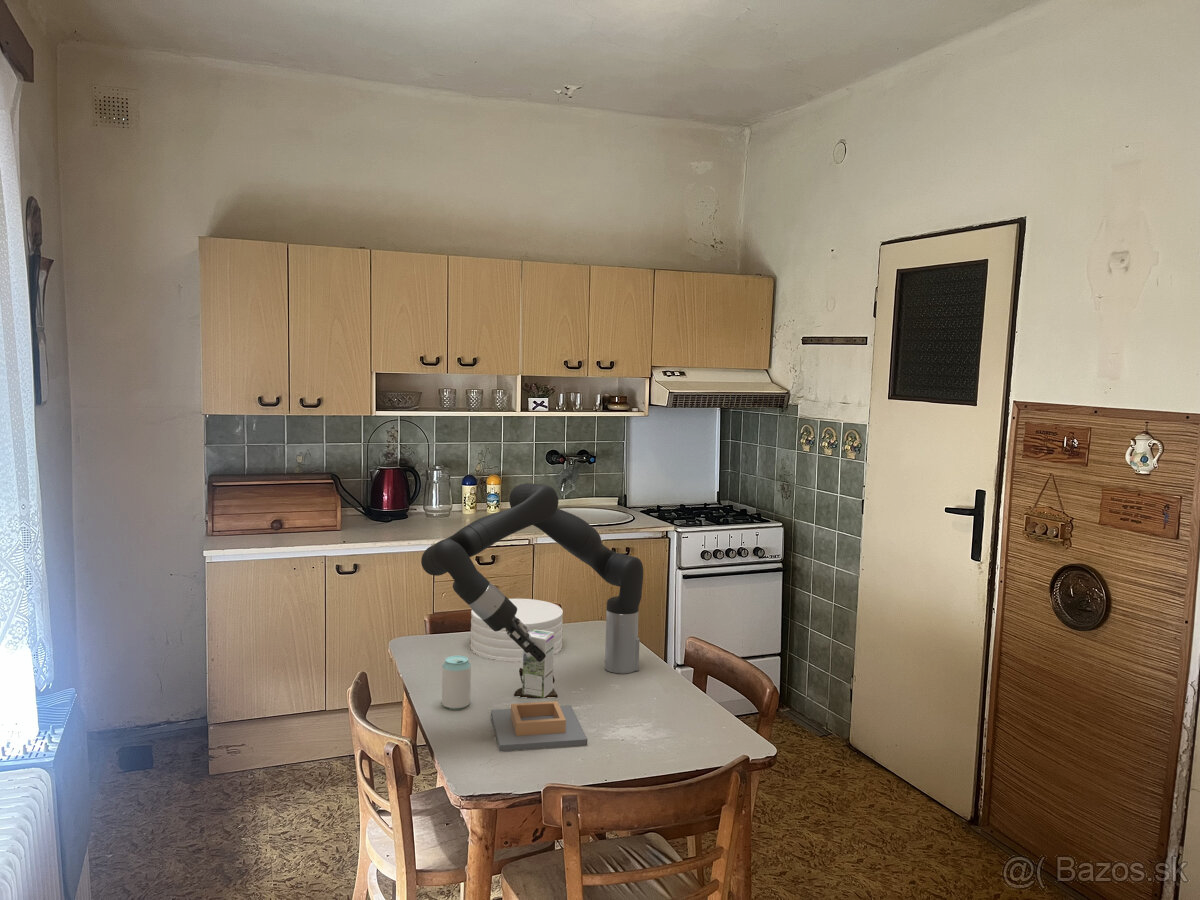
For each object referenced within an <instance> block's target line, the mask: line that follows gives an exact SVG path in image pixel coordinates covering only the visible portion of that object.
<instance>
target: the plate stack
mask: <svg viewBox="0 0 1200 900" xmlns="http://www.w3.org/2000/svg"><path fill="white" fill-rule="evenodd" d="M508 599H509V600H510V601H511V602H512V603H513V604H514V605H515V606H516V607H517V613H516V615H515V617H516V618H518V619H520V621H521V622H522V623H523V624H524V625H525V626H526V627H527V630H529V631H530V630H532V629H535V630H543V631H550V632H554V654H556V653H557V654H559V653H560V652H561V651H560V650H562V649H561V648H563V642H562V641H563V621H564V619H563V616H564V615H563V614H564V613H563V612H564V611H563V609H562V608H561V606H559V605H558V604H555V603H553V602H549V601H546V600H540V599H533V598H508ZM470 612H471V613H470V616H471V619H470V625H471V626H470V650H471V649H472V650H473V651H474V652H475V653H476V654H475V653H474V652H473V651H472V650H471V651H472V652H473V653H474V654H475V655H477V654H478V655H481V656H484V657H487V658H490V659H489V660H491V659H496V660H495V661H497V660H504V661H503V662H505V661H523V649H522V648H521V647H520V646H519V645H518V644H517V643H516V642H515V641H514V640H513V639H512V638H510V637H509V636H508V634H507V631H506V628H503V629H501V630H500V631H493V630H492V629H491V628H490V627H489V626H488V625H487V624H486V623H485V622H484V621H483V620H482V619H481V618H480V617H479V616H478V615H477V614H476V613H475V612H474V611H473V610H472V609H471V611H470ZM559 651H560V652H559ZM558 652H559V653H558ZM557 654H556V655H557ZM478 655H477V656H478ZM481 656H480V657H481ZM484 657H483V658H484ZM487 658H486V659H487Z"/></svg>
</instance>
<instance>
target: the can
mask: <svg viewBox="0 0 1200 900" xmlns="http://www.w3.org/2000/svg"><path fill="white" fill-rule="evenodd" d="M444 660H445V661H444V662H443V664H442V669H441V670H442V674H441V675H442V680H441V681H442V682H441V683H442V684H441V689H442V690H441V694H442V695H441V705H443V706H444V707H445V708H446V707H447V708H446V709H448V708H450V709H449V710H454V709H456V710H461V709H460V708H462V709H465V708H467V706H469V705H470V704H471V691H472V690H471V686H472V685H471V679H472V678H471V677H472V675H471V674H472V664H471V662H469V658H468V657H467V656H464V655H451V656H450V655H449V656H447V657H446V658H445V659H444ZM464 707H465V708H464Z"/></svg>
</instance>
